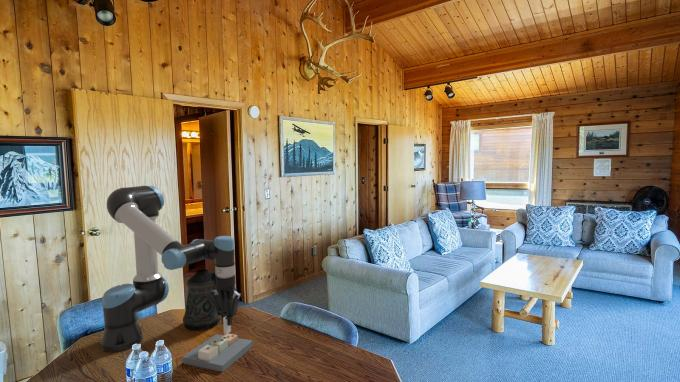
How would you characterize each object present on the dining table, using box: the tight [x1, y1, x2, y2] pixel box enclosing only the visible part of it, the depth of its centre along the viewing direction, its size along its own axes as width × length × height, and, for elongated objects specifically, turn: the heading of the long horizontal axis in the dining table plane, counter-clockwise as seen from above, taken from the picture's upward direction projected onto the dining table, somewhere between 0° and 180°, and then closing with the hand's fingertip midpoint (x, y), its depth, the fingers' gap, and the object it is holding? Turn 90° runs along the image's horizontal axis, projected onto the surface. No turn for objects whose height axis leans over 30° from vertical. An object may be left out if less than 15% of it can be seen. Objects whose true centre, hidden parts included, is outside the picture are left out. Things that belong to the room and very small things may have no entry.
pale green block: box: [209, 337, 228, 353], centre depth 143 cm, size 5×5×4 cm
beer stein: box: [182, 269, 221, 332], centre depth 171 cm, size 16×19×25 cm
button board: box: [181, 333, 254, 373], centre depth 143 cm, size 18×19×2 cm
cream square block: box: [198, 345, 218, 362], centre depth 137 cm, size 5×5×4 cm
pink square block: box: [221, 333, 239, 346], centre depth 148 cm, size 5×5×4 cm
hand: (227, 332), depth 148 cm, fingers closed
